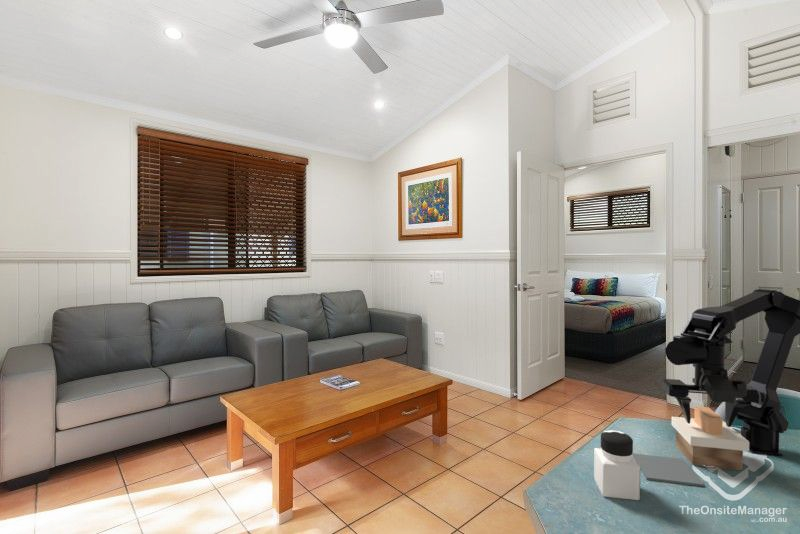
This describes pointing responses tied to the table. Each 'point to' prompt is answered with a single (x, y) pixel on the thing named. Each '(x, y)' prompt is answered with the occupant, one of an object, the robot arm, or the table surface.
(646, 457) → the rubber mat
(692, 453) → the walnut box
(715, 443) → the lid
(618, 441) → the medicine bottle
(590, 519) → the table surface
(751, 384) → the robot arm
